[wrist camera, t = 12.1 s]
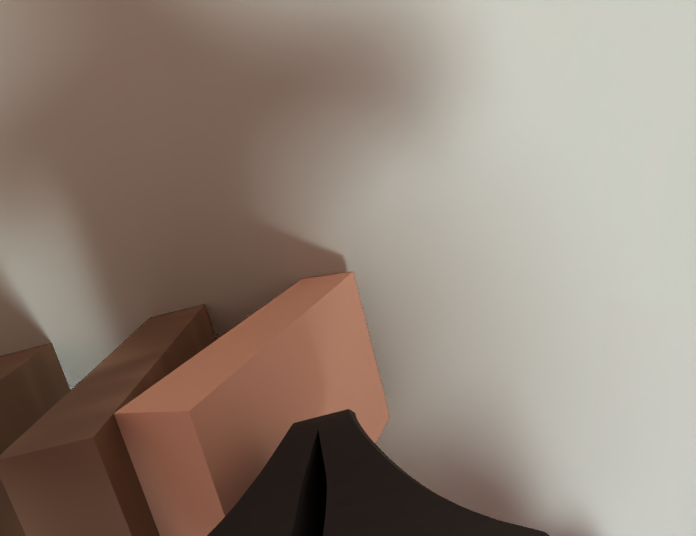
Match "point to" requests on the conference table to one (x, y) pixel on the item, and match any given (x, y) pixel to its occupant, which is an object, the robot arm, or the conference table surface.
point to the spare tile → (250, 401)
